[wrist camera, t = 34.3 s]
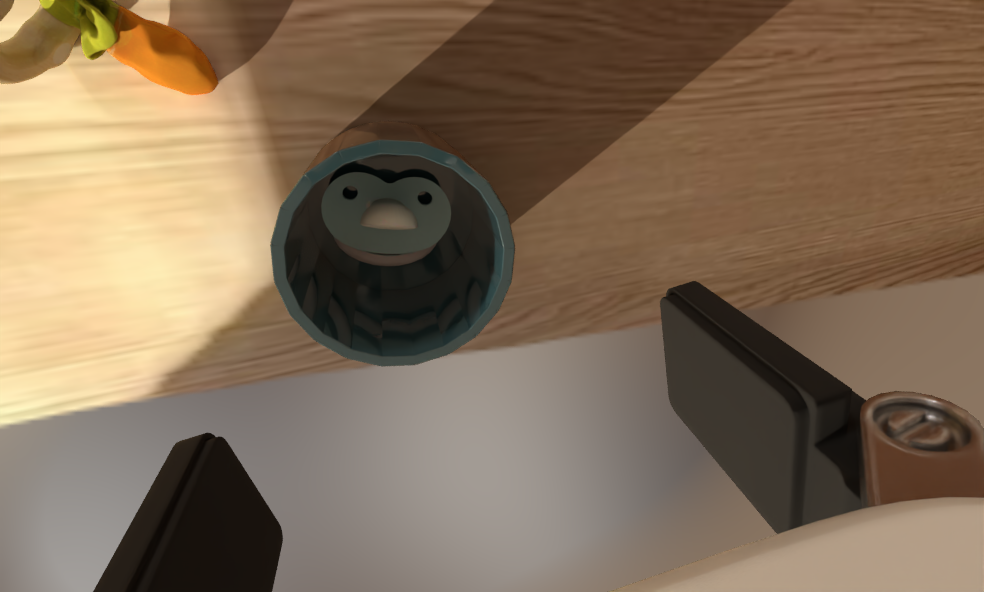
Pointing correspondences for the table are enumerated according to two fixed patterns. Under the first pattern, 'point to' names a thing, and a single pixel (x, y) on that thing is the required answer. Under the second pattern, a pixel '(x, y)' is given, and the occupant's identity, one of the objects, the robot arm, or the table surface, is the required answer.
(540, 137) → the table surface
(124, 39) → the rattle
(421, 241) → the pacifier
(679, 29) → the table surface
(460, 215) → the cup
